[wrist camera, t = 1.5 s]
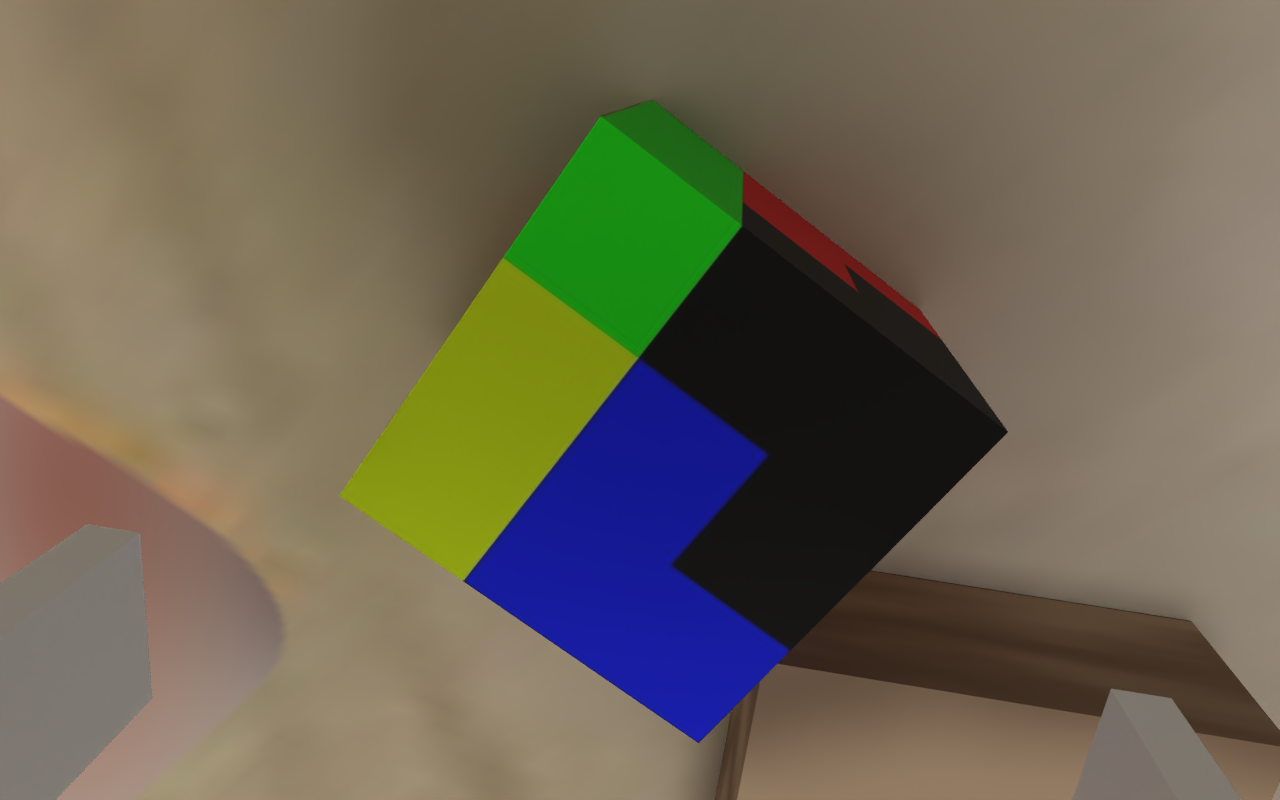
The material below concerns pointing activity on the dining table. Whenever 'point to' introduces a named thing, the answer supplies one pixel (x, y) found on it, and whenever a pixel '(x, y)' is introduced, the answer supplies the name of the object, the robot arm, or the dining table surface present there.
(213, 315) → the dining table surface
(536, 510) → the puzzle toy
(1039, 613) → the walnut plinth
